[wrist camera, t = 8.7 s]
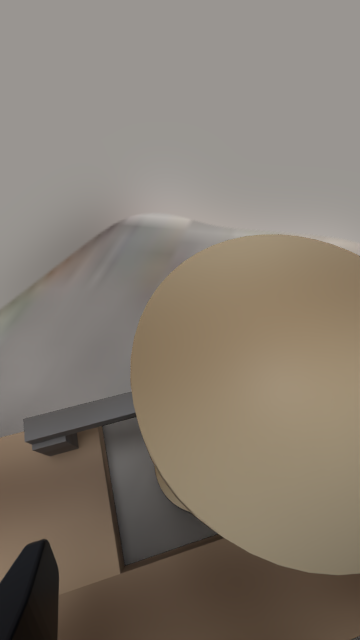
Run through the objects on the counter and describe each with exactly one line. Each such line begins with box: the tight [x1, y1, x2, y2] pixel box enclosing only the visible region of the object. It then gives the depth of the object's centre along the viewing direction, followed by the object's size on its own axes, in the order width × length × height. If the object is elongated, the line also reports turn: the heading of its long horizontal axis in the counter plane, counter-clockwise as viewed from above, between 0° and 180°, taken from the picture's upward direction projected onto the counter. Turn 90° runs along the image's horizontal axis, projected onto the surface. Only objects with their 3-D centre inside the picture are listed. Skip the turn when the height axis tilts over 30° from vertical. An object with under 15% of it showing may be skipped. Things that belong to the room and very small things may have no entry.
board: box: [0, 392, 360, 640], centre depth 13 cm, size 10×18×4 cm, turn 105°
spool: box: [131, 234, 360, 575], centre depth 10 cm, size 4×4×13 cm
